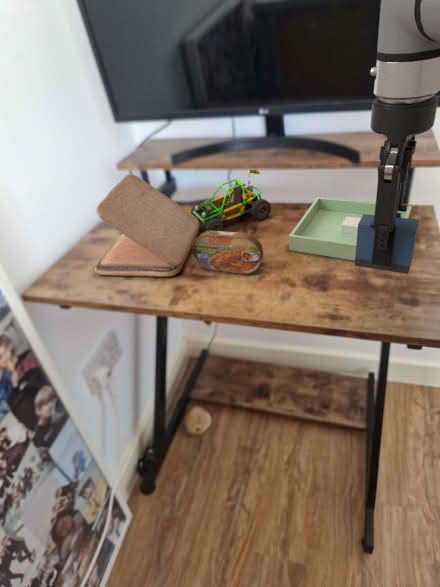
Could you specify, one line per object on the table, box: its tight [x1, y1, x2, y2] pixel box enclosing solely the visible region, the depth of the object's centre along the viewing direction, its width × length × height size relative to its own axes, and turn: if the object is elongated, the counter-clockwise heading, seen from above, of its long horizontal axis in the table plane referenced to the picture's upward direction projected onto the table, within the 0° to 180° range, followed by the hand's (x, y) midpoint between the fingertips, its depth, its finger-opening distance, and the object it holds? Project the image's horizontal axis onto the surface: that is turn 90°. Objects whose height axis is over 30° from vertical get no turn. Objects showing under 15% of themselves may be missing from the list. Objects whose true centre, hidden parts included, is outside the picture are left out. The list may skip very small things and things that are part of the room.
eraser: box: [354, 214, 420, 275], centre depth 62 cm, size 8×4×8 cm, turn 62°
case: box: [94, 174, 201, 278], centre depth 89 cm, size 20×21×16 cm
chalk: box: [341, 217, 361, 235], centre depth 89 cm, size 4×4×2 cm
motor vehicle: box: [190, 169, 272, 232], centre depth 100 cm, size 12×19×11 cm, turn 115°
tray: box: [288, 196, 413, 262], centre depth 88 cm, size 21×19×4 cm
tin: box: [191, 230, 265, 275], centre depth 82 cm, size 15×3×8 cm, turn 68°
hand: (383, 256), depth 64 cm, fingers closed on eraser, 3 cm apart
